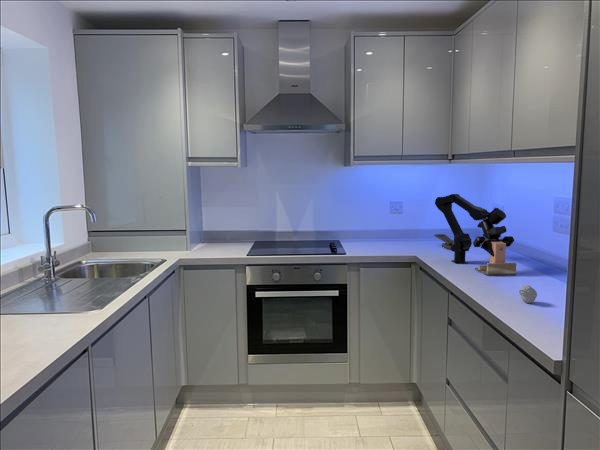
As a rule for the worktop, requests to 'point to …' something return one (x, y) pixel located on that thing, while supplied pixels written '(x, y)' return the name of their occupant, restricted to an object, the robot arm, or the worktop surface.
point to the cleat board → (497, 269)
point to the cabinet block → (498, 252)
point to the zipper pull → (445, 238)
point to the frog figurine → (528, 294)
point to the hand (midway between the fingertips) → (498, 255)
